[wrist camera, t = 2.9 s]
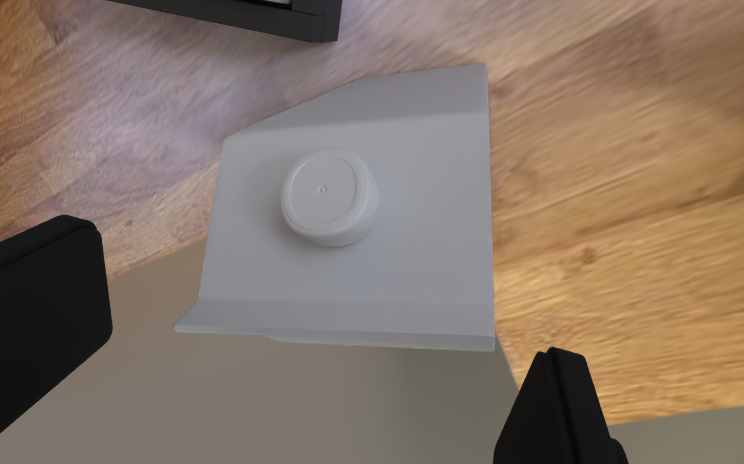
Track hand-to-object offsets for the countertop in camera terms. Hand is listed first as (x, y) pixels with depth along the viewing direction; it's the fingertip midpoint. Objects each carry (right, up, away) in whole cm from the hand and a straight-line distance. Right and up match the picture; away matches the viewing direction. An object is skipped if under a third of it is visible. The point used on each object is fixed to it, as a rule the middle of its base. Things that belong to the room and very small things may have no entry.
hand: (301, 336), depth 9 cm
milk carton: (+5, +8, +17) cm, 19 cm away
